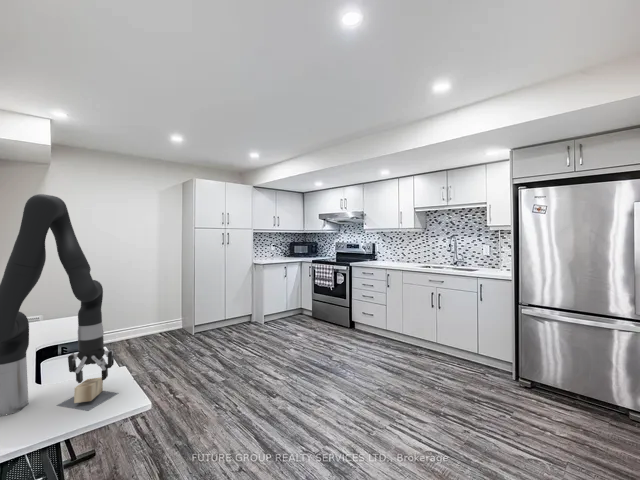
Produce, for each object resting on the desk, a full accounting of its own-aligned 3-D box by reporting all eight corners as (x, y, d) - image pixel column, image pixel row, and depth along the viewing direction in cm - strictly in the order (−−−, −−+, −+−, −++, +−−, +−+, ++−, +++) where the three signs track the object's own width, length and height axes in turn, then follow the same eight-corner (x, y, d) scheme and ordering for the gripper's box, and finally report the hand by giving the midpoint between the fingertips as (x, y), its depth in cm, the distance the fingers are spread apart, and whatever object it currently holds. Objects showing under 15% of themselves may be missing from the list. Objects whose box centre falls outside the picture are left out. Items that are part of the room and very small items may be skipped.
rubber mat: (56, 407, 111) (56, 405, 111) (89, 390, 122) (89, 388, 122) (88, 412, 107) (88, 410, 107) (119, 394, 119) (119, 393, 119)
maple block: (87, 393, 119) (74, 403, 110) (87, 379, 120) (74, 387, 110) (102, 391, 120) (90, 400, 111) (102, 377, 121) (91, 385, 111)
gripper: (62, 341, 111) (64, 388, 112) (109, 337, 115) (111, 382, 116) (72, 334, 118) (74, 378, 119) (116, 330, 122) (118, 373, 123)
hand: (92, 380), depth 117 cm, fingers open, 7 cm apart
